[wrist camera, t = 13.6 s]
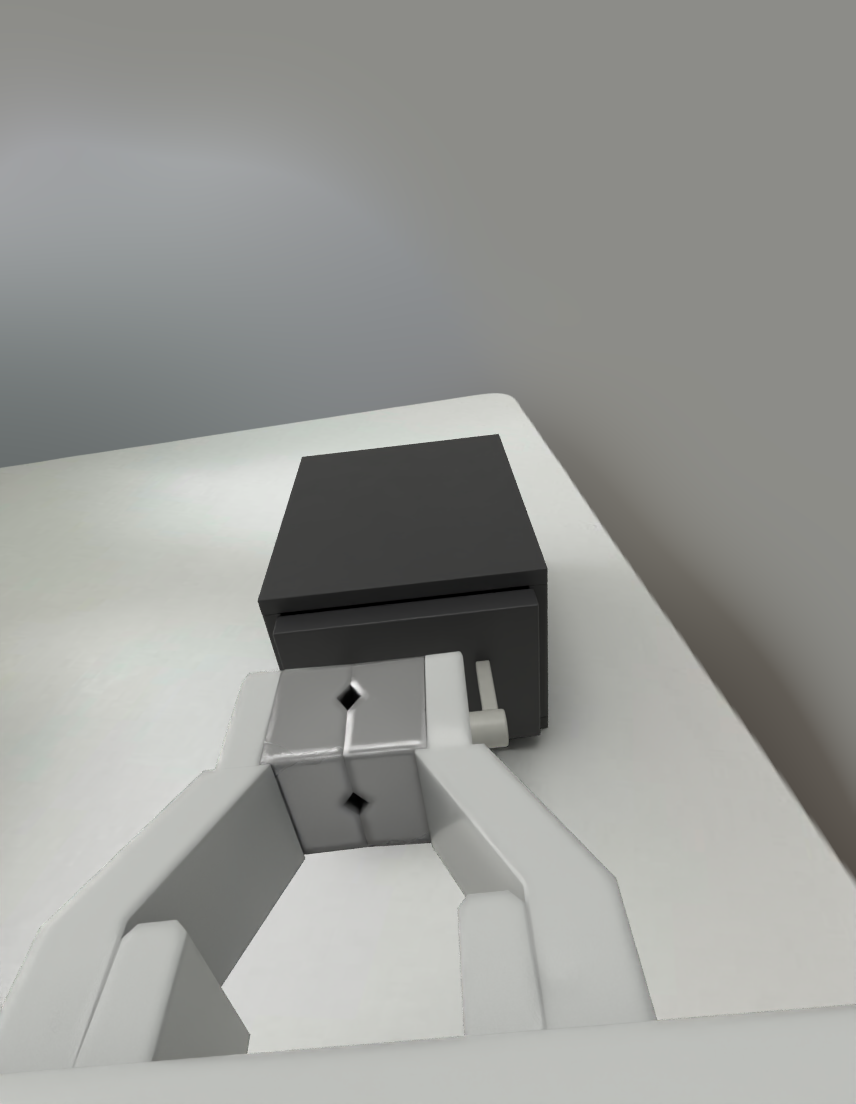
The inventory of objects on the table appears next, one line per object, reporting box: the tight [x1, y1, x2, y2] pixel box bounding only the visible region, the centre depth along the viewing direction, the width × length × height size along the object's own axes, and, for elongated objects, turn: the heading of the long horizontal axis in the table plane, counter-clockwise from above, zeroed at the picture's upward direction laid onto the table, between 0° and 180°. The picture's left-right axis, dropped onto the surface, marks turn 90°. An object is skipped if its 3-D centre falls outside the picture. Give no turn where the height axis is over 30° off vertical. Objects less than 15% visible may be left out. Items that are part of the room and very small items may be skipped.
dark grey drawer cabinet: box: [258, 434, 548, 728], centre depth 35 cm, size 15×12×10 cm
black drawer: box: [273, 587, 540, 748], centre depth 31 cm, size 18×11×8 cm, turn 2°
